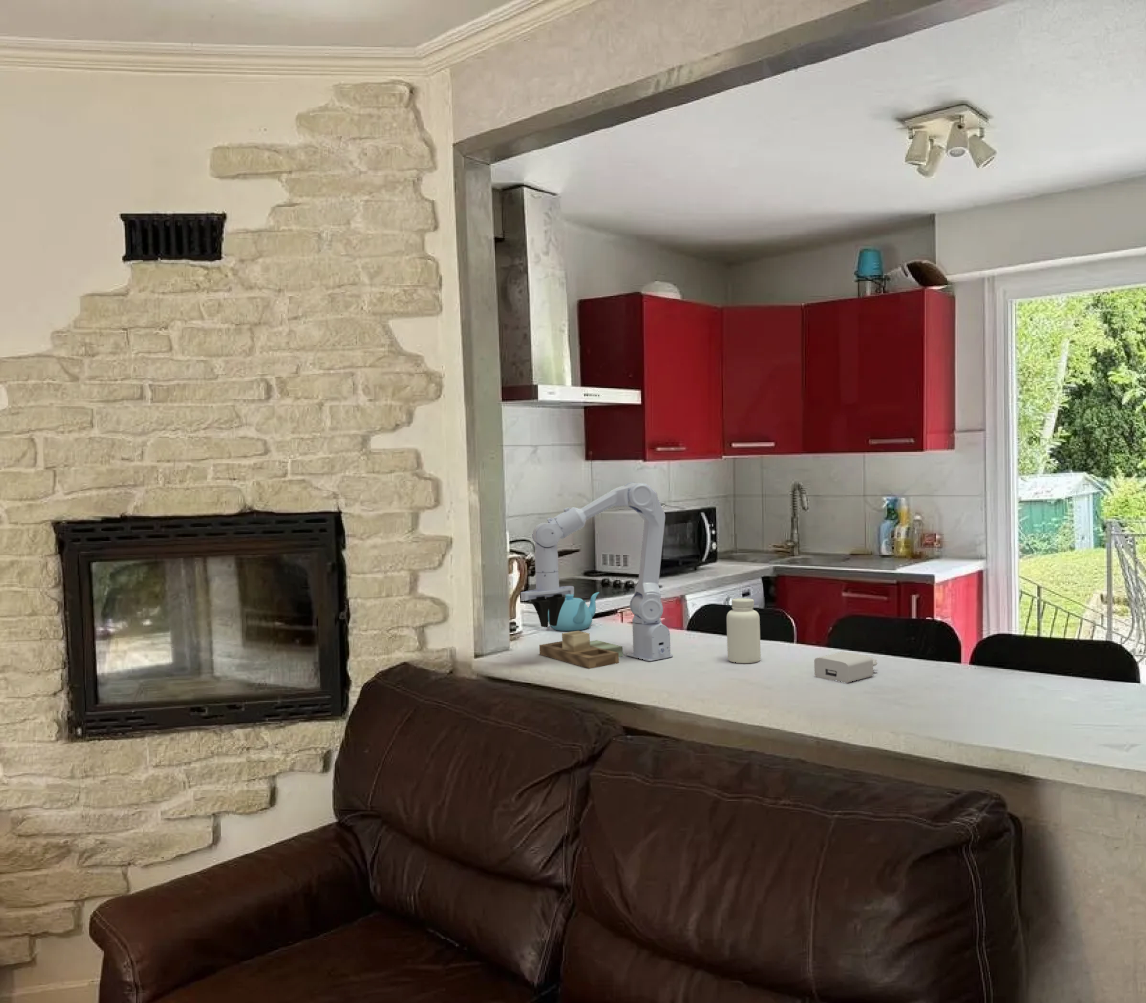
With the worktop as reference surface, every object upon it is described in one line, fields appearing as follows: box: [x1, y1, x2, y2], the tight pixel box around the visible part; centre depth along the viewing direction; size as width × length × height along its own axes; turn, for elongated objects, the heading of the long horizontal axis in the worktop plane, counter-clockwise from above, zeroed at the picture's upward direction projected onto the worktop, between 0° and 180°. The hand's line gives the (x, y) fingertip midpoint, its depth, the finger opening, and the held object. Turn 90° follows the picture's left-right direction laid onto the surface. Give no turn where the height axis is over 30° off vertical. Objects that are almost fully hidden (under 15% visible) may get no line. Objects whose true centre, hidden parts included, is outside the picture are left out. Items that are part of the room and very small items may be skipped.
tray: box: [539, 639, 623, 669], centre depth 241 cm, size 22×14×2 cm, turn 35°
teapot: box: [548, 591, 600, 632], centre depth 282 cm, size 15×15×10 cm
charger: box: [813, 651, 878, 684], centre depth 214 cm, size 5×9×15 cm
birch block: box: [561, 630, 591, 652], centre depth 239 cm, size 5×5×4 cm
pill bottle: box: [726, 597, 762, 664], centre depth 231 cm, size 8×8×15 cm
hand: (548, 626), depth 234 cm, fingers open, 2 cm apart
